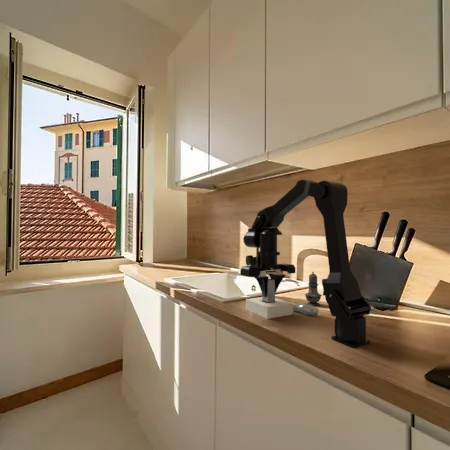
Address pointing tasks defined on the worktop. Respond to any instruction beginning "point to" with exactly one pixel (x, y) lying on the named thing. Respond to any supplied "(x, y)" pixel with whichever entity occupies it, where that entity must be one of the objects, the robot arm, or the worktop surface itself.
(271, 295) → the square bit
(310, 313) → the round bit
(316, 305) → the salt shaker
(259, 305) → the socket block
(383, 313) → the worktop surface
